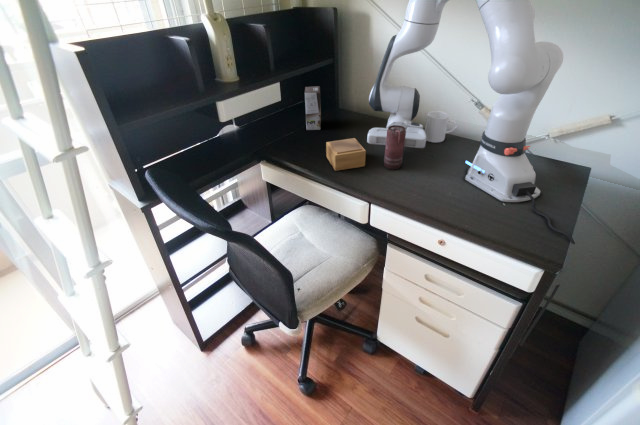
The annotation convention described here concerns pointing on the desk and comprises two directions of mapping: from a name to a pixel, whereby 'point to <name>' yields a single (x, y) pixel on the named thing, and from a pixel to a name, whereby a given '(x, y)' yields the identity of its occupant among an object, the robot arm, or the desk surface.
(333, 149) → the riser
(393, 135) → the can
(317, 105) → the coffee box
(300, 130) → the desk surface
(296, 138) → the desk surface
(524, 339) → the robot arm
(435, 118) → the mug
